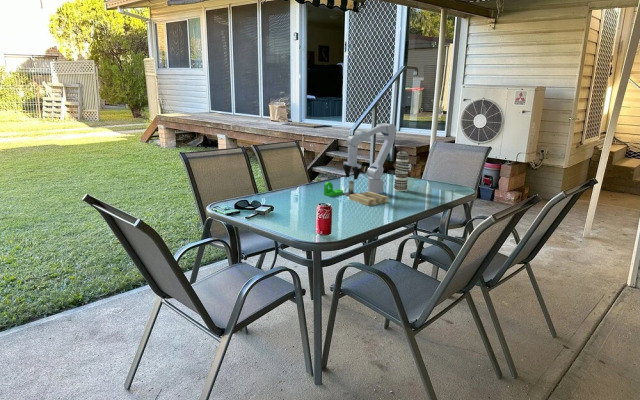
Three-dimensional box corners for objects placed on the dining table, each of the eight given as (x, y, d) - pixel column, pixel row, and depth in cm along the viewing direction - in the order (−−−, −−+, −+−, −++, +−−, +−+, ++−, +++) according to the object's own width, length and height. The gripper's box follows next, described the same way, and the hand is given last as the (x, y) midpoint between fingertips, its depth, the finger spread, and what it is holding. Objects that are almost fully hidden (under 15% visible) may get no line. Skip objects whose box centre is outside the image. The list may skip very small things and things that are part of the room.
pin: (351, 193, 267) (351, 180, 265) (354, 194, 264) (355, 181, 262) (347, 194, 265) (347, 181, 263) (350, 195, 262) (351, 182, 260)
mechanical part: (330, 197, 257) (330, 184, 255) (323, 195, 262) (323, 182, 260) (344, 193, 265) (345, 181, 263) (338, 192, 269) (338, 179, 267)
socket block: (369, 196, 262) (369, 191, 261) (388, 202, 249) (388, 197, 248) (349, 199, 252) (349, 194, 252) (367, 205, 240) (367, 200, 239)
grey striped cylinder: (393, 191, 276) (395, 152, 270) (393, 188, 285) (395, 150, 279) (407, 192, 275) (410, 153, 269) (407, 189, 284) (410, 151, 277)
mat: (351, 192, 271) (352, 191, 271) (362, 195, 264) (362, 194, 264) (339, 194, 266) (339, 193, 266) (350, 197, 258) (350, 196, 258)
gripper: (339, 155, 262) (339, 176, 265) (355, 158, 251) (354, 181, 254) (348, 154, 266) (347, 175, 269) (364, 157, 255) (363, 179, 258)
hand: (351, 178), depth 262 cm, fingers open, 7 cm apart
